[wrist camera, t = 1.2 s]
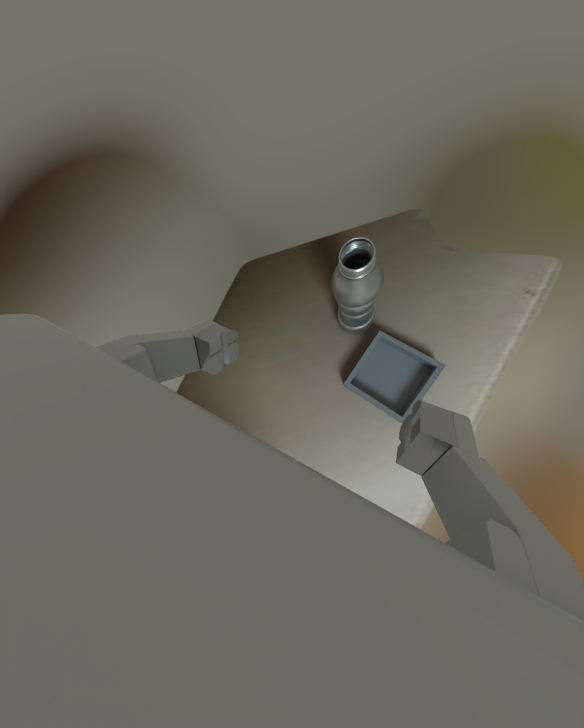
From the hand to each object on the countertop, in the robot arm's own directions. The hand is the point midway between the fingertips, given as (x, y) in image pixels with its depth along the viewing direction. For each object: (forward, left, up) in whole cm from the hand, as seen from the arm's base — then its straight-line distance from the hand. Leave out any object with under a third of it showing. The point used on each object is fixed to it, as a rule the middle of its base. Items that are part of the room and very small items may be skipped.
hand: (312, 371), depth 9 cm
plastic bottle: (+12, +5, -32) cm, 34 cm away
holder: (+6, -5, -31) cm, 32 cm away
